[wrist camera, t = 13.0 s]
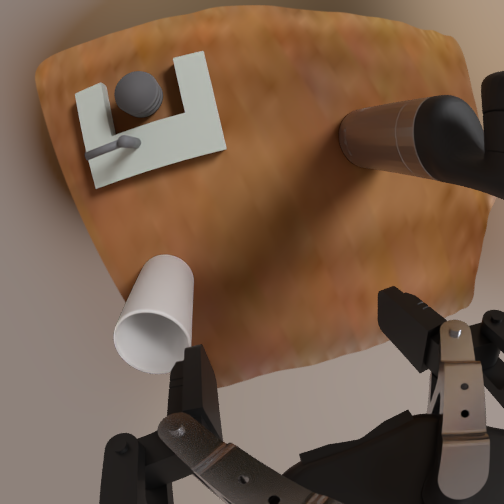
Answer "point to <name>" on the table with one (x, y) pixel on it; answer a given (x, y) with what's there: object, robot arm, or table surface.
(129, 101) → the grooved grey cylinder
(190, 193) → the table surface
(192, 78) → the board
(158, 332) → the cup
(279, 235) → the table surface
